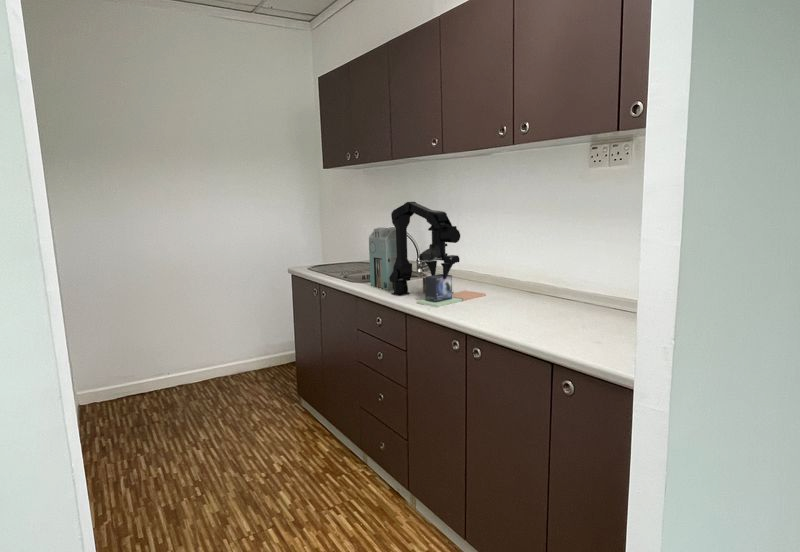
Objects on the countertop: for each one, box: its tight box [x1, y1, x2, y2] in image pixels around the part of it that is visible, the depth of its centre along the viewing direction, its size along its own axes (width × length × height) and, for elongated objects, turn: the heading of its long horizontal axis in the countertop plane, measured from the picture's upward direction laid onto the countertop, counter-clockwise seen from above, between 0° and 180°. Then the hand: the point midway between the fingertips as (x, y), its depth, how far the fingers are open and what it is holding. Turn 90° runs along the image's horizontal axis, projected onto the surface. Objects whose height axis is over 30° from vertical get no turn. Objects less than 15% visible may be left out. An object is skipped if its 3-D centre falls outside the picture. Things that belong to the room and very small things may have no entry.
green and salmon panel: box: [416, 290, 486, 308], centre depth 229 cm, size 12×32×1 cm, turn 133°
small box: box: [425, 273, 453, 302], centre depth 222 cm, size 11×6×10 cm, turn 133°
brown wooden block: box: [422, 276, 455, 294], centre depth 244 cm, size 14×6×7 cm, turn 43°
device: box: [368, 227, 397, 292], centre depth 261 cm, size 16×8×30 cm, turn 34°
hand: (439, 278), depth 222 cm, fingers open, 6 cm apart
